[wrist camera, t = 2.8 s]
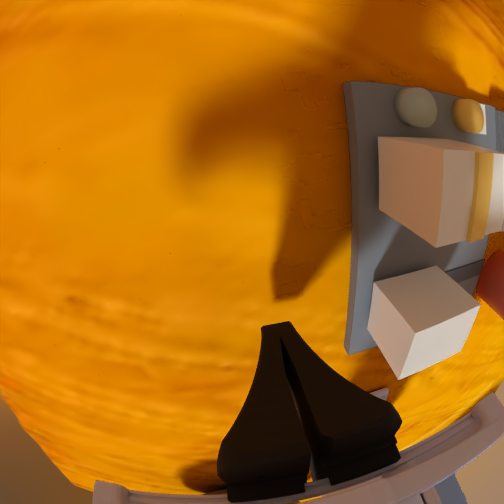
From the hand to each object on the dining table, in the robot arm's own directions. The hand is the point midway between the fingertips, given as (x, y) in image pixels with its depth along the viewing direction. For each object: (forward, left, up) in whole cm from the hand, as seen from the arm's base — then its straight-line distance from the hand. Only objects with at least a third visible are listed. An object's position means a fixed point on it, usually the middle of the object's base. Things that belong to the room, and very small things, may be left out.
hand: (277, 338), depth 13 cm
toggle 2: (0, -7, -1) cm, 7 cm away
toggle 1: (+7, -7, -1) cm, 10 cm away
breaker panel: (+4, -10, -2) cm, 11 cm away
